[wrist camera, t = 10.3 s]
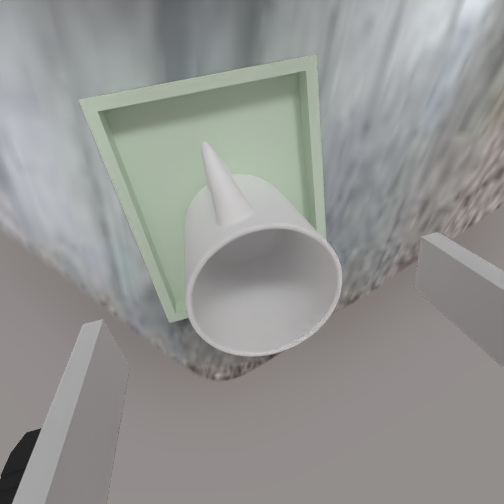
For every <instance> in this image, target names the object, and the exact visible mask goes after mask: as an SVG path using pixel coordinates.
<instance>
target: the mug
mask: <svg viewBox="0 0 504 504" xmlns="http://www.w3.org/2000/svg"><path fill="white" fill-rule="evenodd" d="M201 153H202V158H203V163H204V168H205V173H206V179H207V185H206V186H204V187H203V188H202V189H201V190H200V191H199V192H198V193H197V194H196V196H195V197H194V198H193V200H192V201H191V204H190V206H189V208H188V210H187V213H186V218H185V228H184V240H185V299H186V310H187V314H188V317H189V320H190V322H191V324H192V326H193V328H194V329H195V331H196V332H197V333H198V335H199V336H200V337H201V338H202V339H203V340H204V341H206V342H207V343H208V344H210V345H211V346H213V347H215V348H216V349H218V350H221V351H223V352H226V353H229V354H233V355H238V356H249V357H255V356H265V355H271V354H275V353H279V352H282V351H285V350H288V349H290V348H292V347H294V346H296V345H298V344H300V343H302V342H303V341H305V340H306V339H308V338H309V337H310V336H312V335H313V334H314V333H315V332H316V331H318V330H319V329H320V328H321V327H322V326H323V325H324V323H325V322H326V321H327V320H328V318H329V317H330V316H331V314H332V312H333V311H334V309H335V307H336V305H337V303H338V300H339V297H340V294H341V289H342V270H341V265H340V262H339V259H338V257H337V255H336V253H335V251H334V250H333V248H332V247H331V246H330V244H329V243H328V242H327V241H326V240H325V239H324V238H323V237H322V236H321V235H320V234H319V233H318V232H317V231H316V230H315V228H314V227H313V226H312V225H311V224H310V223H309V222H308V221H307V220H306V219H305V218H304V217H303V216H302V215H301V214H300V213H299V212H298V211H297V210H296V208H295V207H294V206H293V205H292V204H291V203H290V202H289V201H288V200H287V199H286V198H285V197H284V196H283V195H282V194H281V193H280V192H279V191H278V190H277V189H276V188H275V187H274V186H273V185H271V184H270V183H269V182H267V181H265V180H263V179H261V178H259V177H256V176H252V175H247V174H231V172H230V171H229V169H228V168H227V167H226V165H225V164H224V162H223V161H222V160H221V158H220V157H219V156H218V154H217V153H216V152H215V150H214V149H213V148H212V147H211V145H210V144H209V143H208V142H207V141H202V142H201Z"/></svg>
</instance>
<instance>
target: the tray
mask: <svg viewBox="0 0 504 504" xmlns="http://www.w3.org/2000/svg"><path fill="white" fill-rule="evenodd" d="M78 101H79V103H80V106H81V108H82V110H83V113H84V115H85V118H86V120H87V123H88V125H89V128H90V130H91V132H92V135H93V137H94V140H95V142H96V145H97V147H98V150H99V152H100V155H101V157H102V159H103V162H104V164H105V167H106V169H107V172H108V174H109V177H110V179H111V182H112V184H113V186H114V189H115V191H116V194H117V196H118V199H119V201H120V204H121V206H122V208H123V211H124V213H125V216H126V218H127V221H128V223H129V226H130V228H131V231H132V233H133V235H134V238H135V240H136V243H137V245H138V248H139V250H140V253H141V255H142V258H143V260H144V262H145V265H146V267H147V270H148V272H149V275H150V277H151V280H152V282H153V285H154V287H155V289H156V292H157V294H158V297H159V299H160V302H161V304H162V307H163V309H164V311H165V314H166V316H167V319H168V321H169V323H172V322H175V321H179V320H183V319H186V318H189V317H188V314H187V310H186V299H185V240H184V228H185V218H186V213H187V210H188V208H189V206H190V204H191V201H192V200H193V198H194V197H195V196H196V194H197V193H198V192H199V191H200V190H201V189H202V188H203V187H204V186H206V185H207V179H206V173H205V168H204V163H203V158H202V153H201V142H202V141H207V142H208V143H209V144H210V145H211V147H212V148H213V149H214V150H215V152H216V153H217V154H218V156H219V157H220V158H221V160H222V161H223V162H224V164H225V165H226V167H227V168H228V169H229V171H230V172H231V174H247V175H252V176H256V177H259V178H261V179H263V180H265V181H267V182H269V183H270V184H271V185H273V186H274V187H275V188H276V189H277V190H278V191H279V192H280V193H281V194H282V195H283V196H284V197H285V198H286V199H287V200H288V201H289V202H290V203H291V204H292V205H293V206H294V207H295V208H296V210H297V211H298V212H299V213H300V214H301V215H302V216H303V217H304V218H305V219H306V220H307V221H308V222H309V223H310V224H311V225H312V226H313V227H314V228H315V230H316V231H317V232H318V233H319V234H320V235H321V236H322V237H323V238H324V239H325V240H326V223H325V203H324V184H323V164H322V144H321V124H320V105H319V85H318V65H317V54H314V55H309V56H304V57H298V58H293V59H288V60H283V61H278V62H272V63H267V64H262V65H257V66H251V67H246V68H241V69H236V70H231V71H225V72H220V73H215V74H210V75H204V76H199V77H194V78H189V79H183V80H178V81H173V82H168V83H163V84H157V85H152V86H147V87H142V88H136V89H131V90H126V91H121V92H116V93H110V94H105V95H100V96H95V97H89V98H84V99H79V100H78Z"/></svg>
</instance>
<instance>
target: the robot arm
mask: <svg viewBox="0 0 504 504" xmlns="http://www.w3.org/2000/svg"><path fill="white" fill-rule="evenodd" d="M414 289H415V290H417V291H418V292H419V293H420V294H421V295H422V296H423V297H424V298H425V299H427V300H428V301H429V302H430V303H431V304H432V305H433V306H434V307H436V308H437V309H438V310H439V311H440V312H441V313H443V315H444V316H446V317H447V318H448V319H449V320H450V321H451V322H452V323H453V324H455V325H456V326H457V327H458V328H459V329H460V330H461V331H462V332H464V333H465V334H466V335H467V336H468V337H469V338H470V339H471V340H473V341H474V342H475V343H476V344H477V345H478V346H479V347H480V348H482V349H483V350H484V351H485V352H486V353H487V354H488V355H489V356H491V357H492V358H493V359H494V360H495V361H496V362H497V363H498V364H499V365H501V366H502V367H503V368H504V271H502V270H501V269H499V268H497V267H496V266H494V265H492V264H491V263H489V262H487V261H486V260H484V259H482V258H480V257H479V256H477V255H475V254H474V253H472V252H470V251H468V250H467V249H465V248H463V247H462V246H460V245H458V244H457V243H455V242H453V241H452V240H450V239H448V238H447V237H445V236H443V235H442V234H440V233H438V232H437V233H433V234H429V235H426V236H422V237H421V242H420V249H419V256H418V263H417V270H416V277H415V283H414ZM129 370H130V366H129V363H128V362H127V360H126V358H125V356H124V355H123V353H122V351H121V349H120V348H119V346H118V344H117V343H116V341H115V339H114V337H113V335H112V333H111V332H110V330H109V328H108V326H107V325H106V323H105V321H104V319H102V320H98V321H94V322H91V323H86V324H83V325H82V327H81V330H80V333H79V335H78V338H77V340H76V343H75V345H74V348H73V350H72V353H71V355H70V358H69V360H68V363H67V365H66V368H65V371H64V373H63V376H62V378H61V381H60V383H59V386H58V389H57V391H56V394H55V396H54V398H53V401H52V404H51V406H50V409H49V411H48V414H47V416H46V419H45V421H44V424H43V426H42V428H41V429H38V430H34V431H31V432H27V433H26V434H25V435H24V436H23V438H22V439H21V440H20V442H19V443H18V444H17V446H16V447H15V448H14V450H13V451H12V452H11V454H10V456H9V458H8V460H7V462H6V465H5V467H4V469H3V472H2V474H1V479H0V504H107V499H108V493H109V486H110V481H111V475H112V469H113V464H114V458H115V452H116V446H117V440H118V434H119V429H120V422H121V417H122V411H123V405H124V399H125V394H126V387H127V381H128V376H129Z"/></svg>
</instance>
